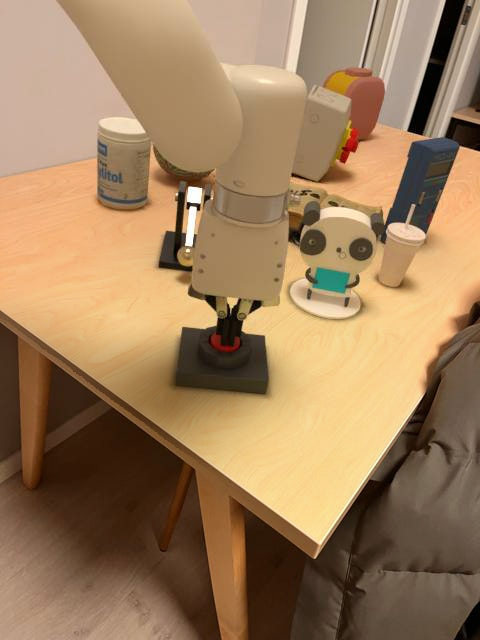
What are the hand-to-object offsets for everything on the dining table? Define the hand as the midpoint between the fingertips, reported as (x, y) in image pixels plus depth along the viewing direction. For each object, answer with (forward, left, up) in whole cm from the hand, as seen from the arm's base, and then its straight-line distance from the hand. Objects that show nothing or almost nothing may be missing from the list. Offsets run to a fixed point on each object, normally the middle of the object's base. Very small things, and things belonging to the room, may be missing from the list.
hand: (227, 338), depth 65 cm
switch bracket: (-6, +28, -4) cm, 29 cm away
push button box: (0, 0, -4) cm, 4 cm away
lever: (-6, +25, +1) cm, 26 cm away
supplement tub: (-20, +46, -5) cm, 50 cm away
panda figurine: (+16, +19, -5) cm, 25 cm away
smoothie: (+29, +27, -5) cm, 40 cm away
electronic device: (+36, +44, -5) cm, 57 cm away
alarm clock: (+36, +114, -5) cm, 119 cm away
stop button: (0, 0, -2) cm, 2 cm away
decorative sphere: (-9, +62, -5) cm, 63 cm away
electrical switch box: (+23, +78, -5) cm, 81 cm away
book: (+17, +44, -5) cm, 47 cm away
